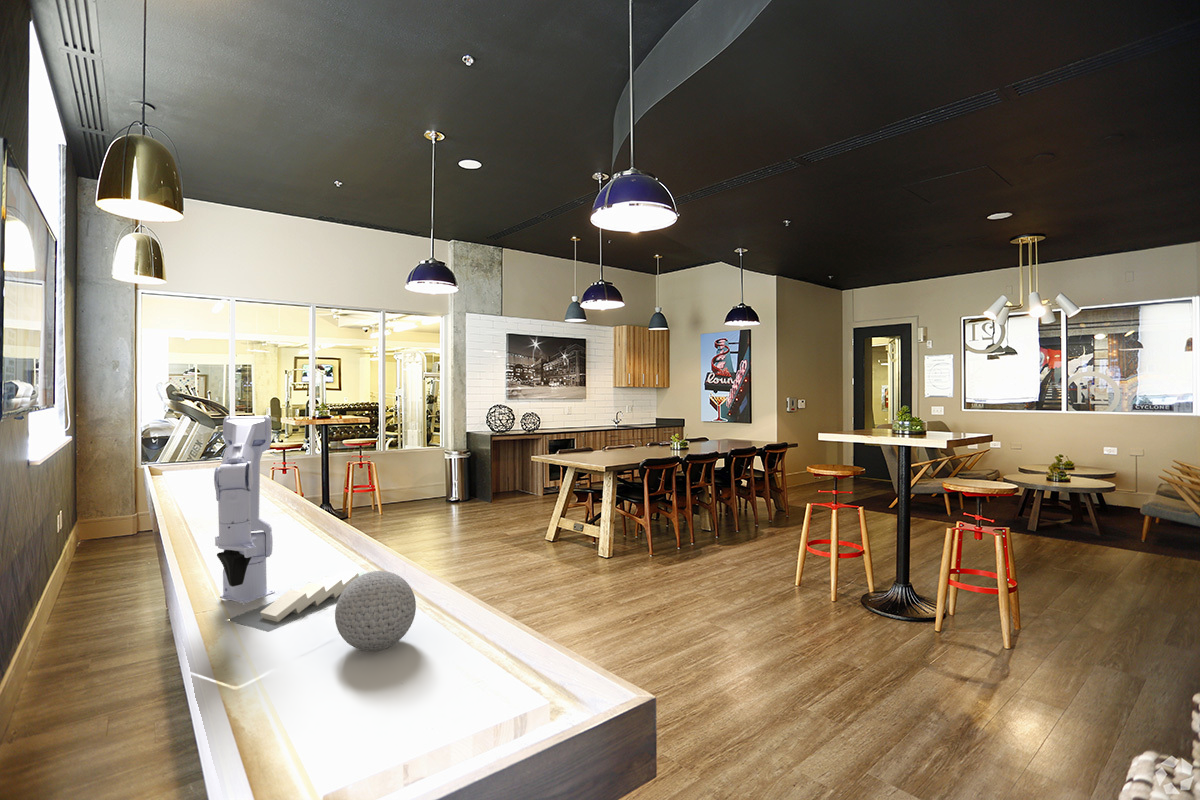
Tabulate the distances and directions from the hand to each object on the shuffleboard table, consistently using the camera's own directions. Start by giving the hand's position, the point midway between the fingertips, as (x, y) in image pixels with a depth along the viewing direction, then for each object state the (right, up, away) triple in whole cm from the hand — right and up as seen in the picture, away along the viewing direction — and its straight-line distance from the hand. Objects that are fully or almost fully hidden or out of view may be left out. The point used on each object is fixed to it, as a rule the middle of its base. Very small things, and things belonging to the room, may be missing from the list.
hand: (236, 584), depth 124 cm
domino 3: (+8, -8, +14) cm, 18 cm away
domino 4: (+10, -8, +19) cm, 23 cm away
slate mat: (+7, -9, +15) cm, 19 cm away
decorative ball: (+32, -11, -6) cm, 34 cm away
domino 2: (+6, -8, +9) cm, 14 cm away
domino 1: (+4, -9, +5) cm, 11 cm away
